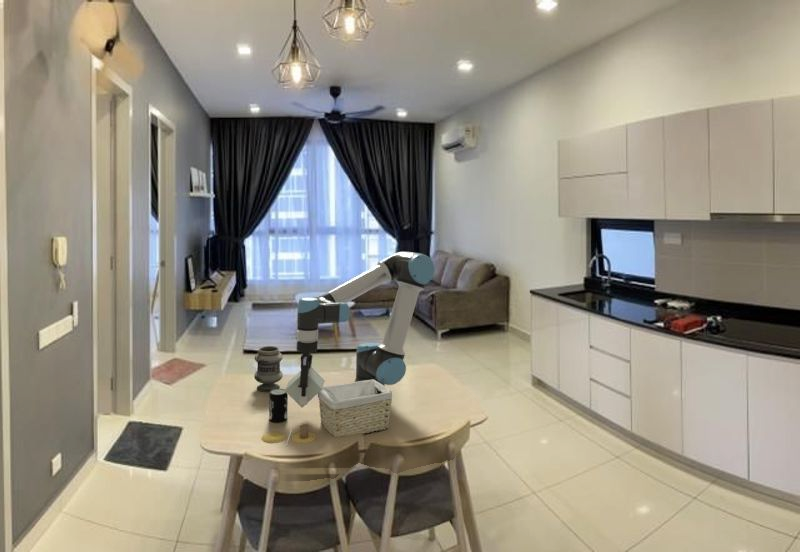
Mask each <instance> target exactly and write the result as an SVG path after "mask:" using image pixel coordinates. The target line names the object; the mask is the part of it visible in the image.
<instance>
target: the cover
mask: <svg viewBox="0 0 800 552" xmlns="http://www.w3.org/2000/svg"><path fill="white" fill-rule="evenodd" d="M300 375H301V370H299V372H298V373H297V374H296V375H294V376H293V377H292V378H291V379H290V380H289V381H288V382H287V385H286V387H285V390H284V391H285V392H286V393H287V394H288V396H289V397H290V398H291V399H293V400H294V402H295V403H296V404H297V405H298V406H299V407H300V408H304V407H305V406H306V405H300V387H298V385H300ZM324 384H325V379H324V378H323V377H322V376H321V375H320V374H319V373H318V372H317V371H316V370H315V369H314V368H313V367H312V366H311V367H310V369H309V373H308V400H307V404H308V403H310V401H312V399H314V398H315V397H316V396H318V393H319V390H322V389H323V387H324Z"/></svg>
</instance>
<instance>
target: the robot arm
mask: <svg viewBox="0 0 800 552" xmlns="http://www.w3.org/2000/svg"><path fill="white" fill-rule="evenodd" d="M435 272H436V271H435V264H434V262H433V260H432V258H431V257H430V256H428V255H426V254H423V253H421V252H411V251H405V250H404V251H398V252H395V253H394V254H392V255H390V256H387V257H386V258H383V259H382V260H380V261H378V262H377V265H376V266H373V267H372V268H370V269H369V270H366V271H364V272H362V273H361V274H359V275H357V276H356V277H354V278H352V279H350V280H348V281H346V282H344V283H342V284H340V285H339V286H337V287H335V288H334V289H331V290H330V291H328V292H326V293H324V294H322V295H313V296H312V297H302V298H299V300H298V303H297V310H296V311H297V325H296V326H297V330H296V331H295V332H294V333H295V334H296V339H297V341H296V351H297V352H299V353H302V354H301V355H300V371H301V375H300V385H298V387H300V405H305V406H306V405H307V406H308V403H307V400H308V373H309V369H310V367H312V364H313V363H312V361H313V354H312V353H316V352H317V351H318V339H319V325H320V324H337V323H338V324H340V323H346V322H348V321H349V319H350V316H351V309H350V305H349V304H348V303H349V302H351V301H353V300H355V299H357V298H358V297H360V296H361V295H364V294H365V293H367V292H369V291H370V290H373V289H375V288H376V287H378V286H381V285H382V284H384V283H385V282H386V283H390V282H392V281H394V280H396V283H397V285H398V289H397V292H396V296H395V299H394V303H393V306H392V310H391V312H390V316H389V319H388V322H387V326H386V330H385V331H384V332H385V333H384V336H383V340H382V342H363V343H360V344H358V345H357V346H356V351H355V354H356V363H355V364H356V365H355V367H356V368H355V380H354V382H358V381H365V380H371V379H373V380H375V381H377V382H379V383H381V384H382V385H384V386H385V387H386V386H392V385H396V384H397V383H399V382H400V381H401V380H403V378H404V376H405V374H406V372H407V371H406V370H407V365H406V363H405V361H404V359H405V354H406V353H405V351H404V346H405V343H406V342H405V341H406V339H407V336H408V332H409V329H410V324H411V321H412V319H413V314H414V311H415V308H416V304H417V302H418V298H419V294H420V292H421V291H424V290H425V286H426V284H428V283H429V282H430V281H432V280H433V279H434V275H435ZM381 393H382V392H380V391H378V390H377V394H381ZM300 405H299V406H300Z"/></svg>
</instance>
